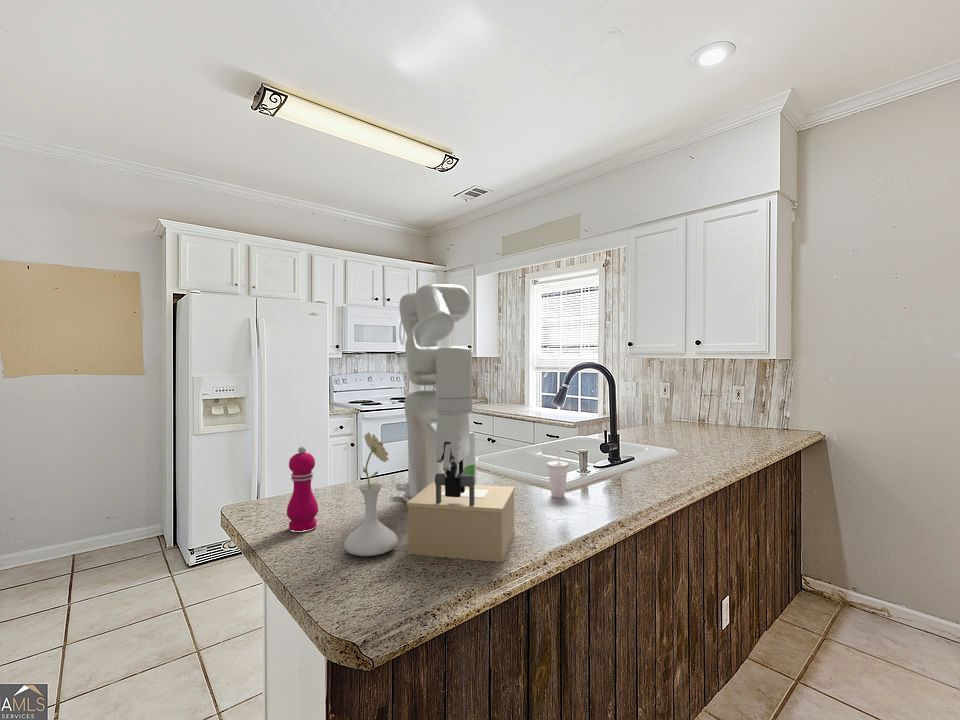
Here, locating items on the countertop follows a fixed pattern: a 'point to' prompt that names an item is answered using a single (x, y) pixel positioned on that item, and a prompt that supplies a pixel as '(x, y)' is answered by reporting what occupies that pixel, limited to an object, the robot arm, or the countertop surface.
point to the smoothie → (557, 477)
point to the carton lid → (463, 496)
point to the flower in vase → (371, 514)
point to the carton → (460, 533)
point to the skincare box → (470, 456)
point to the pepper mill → (302, 492)
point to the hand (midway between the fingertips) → (455, 493)
